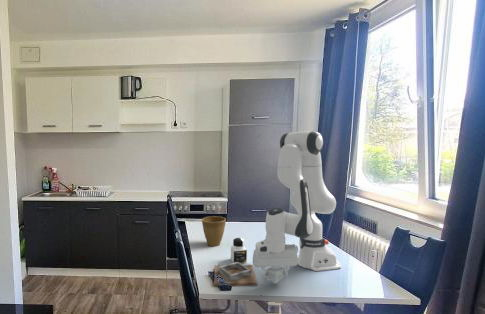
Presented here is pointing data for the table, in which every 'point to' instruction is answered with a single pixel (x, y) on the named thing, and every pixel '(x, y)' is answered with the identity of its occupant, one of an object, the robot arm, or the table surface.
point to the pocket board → (237, 282)
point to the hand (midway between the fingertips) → (275, 275)
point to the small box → (275, 274)
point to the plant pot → (213, 229)
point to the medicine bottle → (238, 251)
